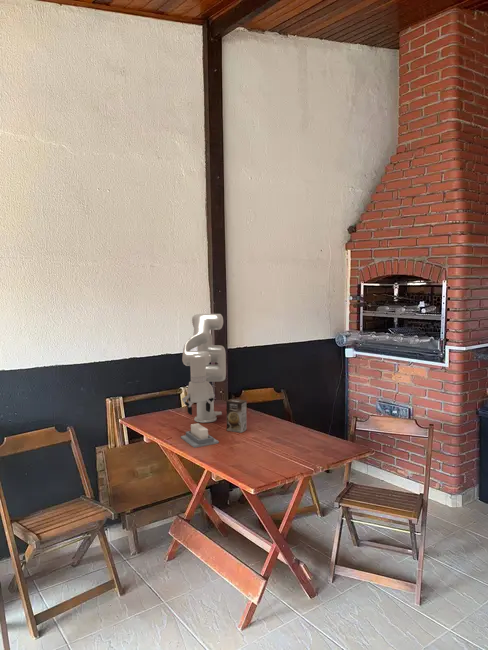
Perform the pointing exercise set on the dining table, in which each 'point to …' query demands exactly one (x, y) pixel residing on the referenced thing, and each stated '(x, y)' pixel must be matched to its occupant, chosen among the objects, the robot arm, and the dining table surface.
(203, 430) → the long beige rectangular prism
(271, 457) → the dining table surface
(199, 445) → the cradle
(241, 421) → the coffee box
